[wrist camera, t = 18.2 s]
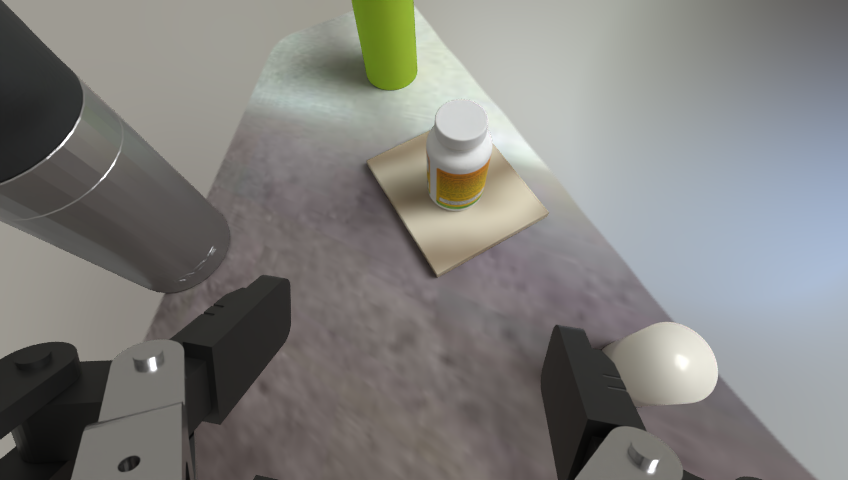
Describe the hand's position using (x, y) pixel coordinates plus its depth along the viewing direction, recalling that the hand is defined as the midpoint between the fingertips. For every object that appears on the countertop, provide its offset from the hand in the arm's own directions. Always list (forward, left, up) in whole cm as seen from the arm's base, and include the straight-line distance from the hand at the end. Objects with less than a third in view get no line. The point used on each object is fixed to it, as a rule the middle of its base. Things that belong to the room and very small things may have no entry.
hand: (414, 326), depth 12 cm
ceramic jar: (+12, +11, -22) cm, 27 cm away
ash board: (-10, +15, -22) cm, 28 cm away
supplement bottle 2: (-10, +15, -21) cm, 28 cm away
